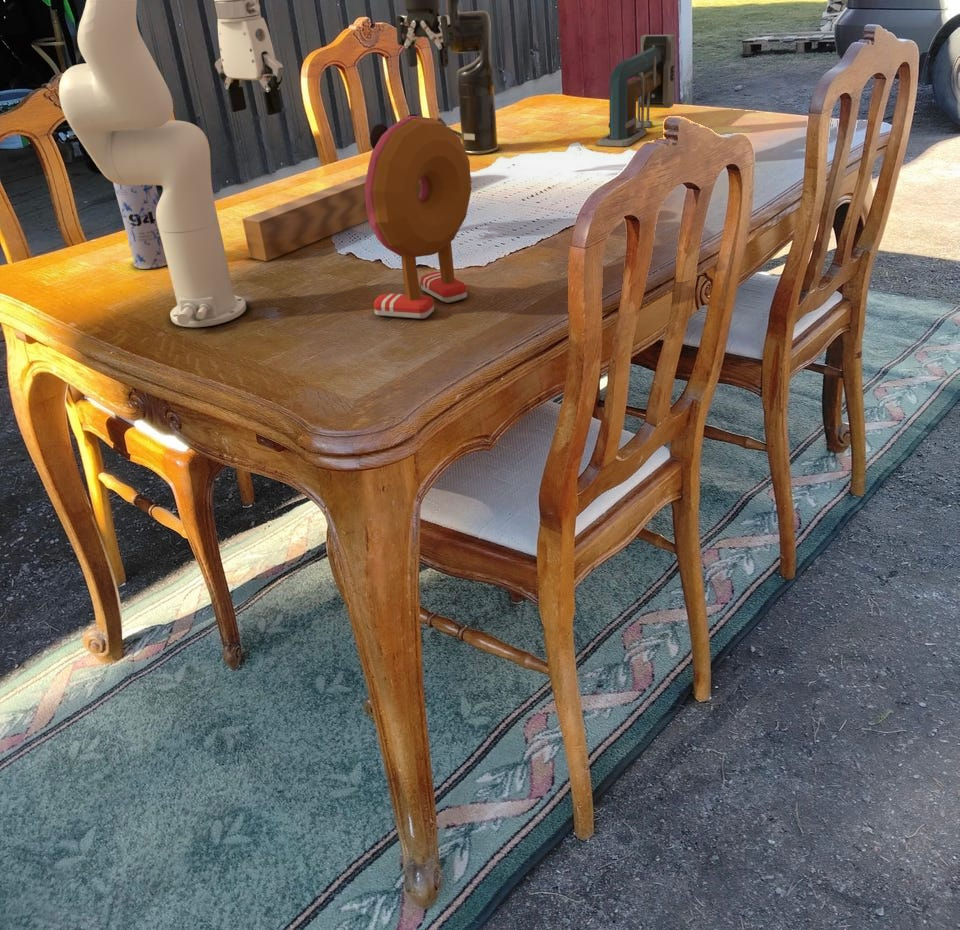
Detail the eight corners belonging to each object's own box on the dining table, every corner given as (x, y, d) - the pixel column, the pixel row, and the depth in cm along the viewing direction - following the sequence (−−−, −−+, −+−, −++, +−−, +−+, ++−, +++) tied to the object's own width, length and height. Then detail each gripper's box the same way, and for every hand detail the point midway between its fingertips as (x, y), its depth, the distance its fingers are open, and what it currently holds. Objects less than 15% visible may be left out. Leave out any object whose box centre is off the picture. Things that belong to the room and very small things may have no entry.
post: (266, 261, 187) (259, 221, 183) (250, 257, 189) (242, 218, 185) (465, 180, 229) (462, 146, 225) (449, 178, 231) (446, 145, 227)
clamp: (627, 146, 245) (627, 56, 234) (595, 145, 249) (593, 56, 238) (672, 117, 270) (675, 34, 260) (643, 116, 274) (644, 34, 263)
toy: (445, 278, 171) (428, 100, 155) (490, 288, 165) (476, 104, 149) (359, 319, 157) (331, 128, 142) (404, 331, 151) (380, 133, 136)
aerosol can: (133, 271, 187) (105, 166, 177) (134, 259, 194) (107, 157, 184) (174, 264, 189) (149, 160, 179) (174, 253, 195) (150, 152, 185)
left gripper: (287, 7, 168) (303, 110, 177) (222, 8, 177) (241, 105, 186) (254, 13, 163) (273, 119, 172) (190, 13, 172) (210, 113, 181)
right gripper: (457, -18, 202) (464, 65, 211) (406, -17, 210) (414, 63, 218) (435, -14, 197) (442, 71, 206) (383, -13, 205) (392, 68, 213)
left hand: (256, 112), depth 179 cm, fingers open, 9 cm apart
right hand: (428, 66), depth 212 cm, fingers open, 8 cm apart
